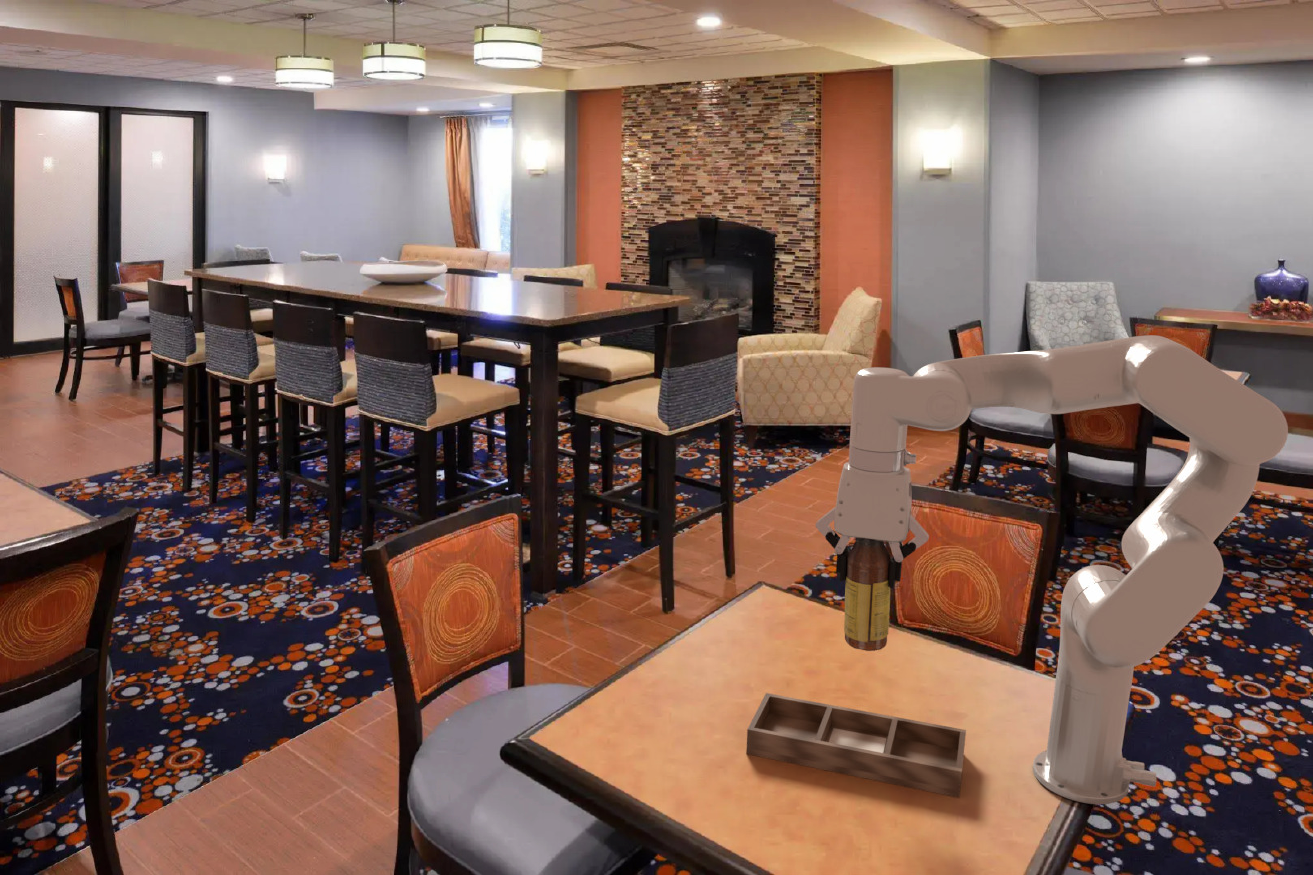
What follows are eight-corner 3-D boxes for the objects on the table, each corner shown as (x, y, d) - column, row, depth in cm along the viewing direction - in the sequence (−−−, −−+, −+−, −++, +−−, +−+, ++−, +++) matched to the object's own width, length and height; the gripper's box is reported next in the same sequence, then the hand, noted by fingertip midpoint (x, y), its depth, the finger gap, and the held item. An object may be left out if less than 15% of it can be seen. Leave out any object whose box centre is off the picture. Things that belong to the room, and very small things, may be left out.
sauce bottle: (884, 635, 144) (895, 506, 140) (890, 654, 138) (901, 520, 134) (839, 632, 145) (848, 503, 140) (842, 651, 139) (852, 517, 134)
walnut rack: (963, 754, 147) (966, 729, 146) (959, 797, 136) (961, 771, 135) (764, 715, 156) (765, 692, 155) (746, 753, 146) (747, 729, 145)
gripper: (943, 458, 136) (932, 580, 140) (818, 446, 141) (812, 564, 146) (939, 472, 129) (928, 600, 133) (808, 458, 135) (801, 582, 139)
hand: (867, 580), depth 139 cm, fingers closed on sauce bottle, 6 cm apart
